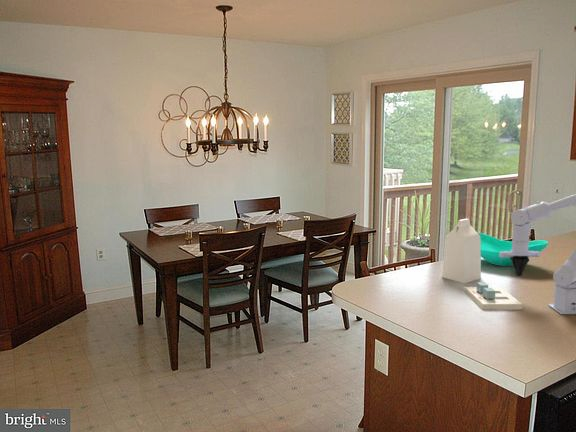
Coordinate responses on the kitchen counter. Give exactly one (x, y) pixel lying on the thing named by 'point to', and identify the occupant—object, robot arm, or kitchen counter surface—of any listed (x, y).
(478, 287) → the tab
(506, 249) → the table top decor
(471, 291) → the switch panel
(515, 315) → the kitchen counter surface
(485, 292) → the tab
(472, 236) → the milk
